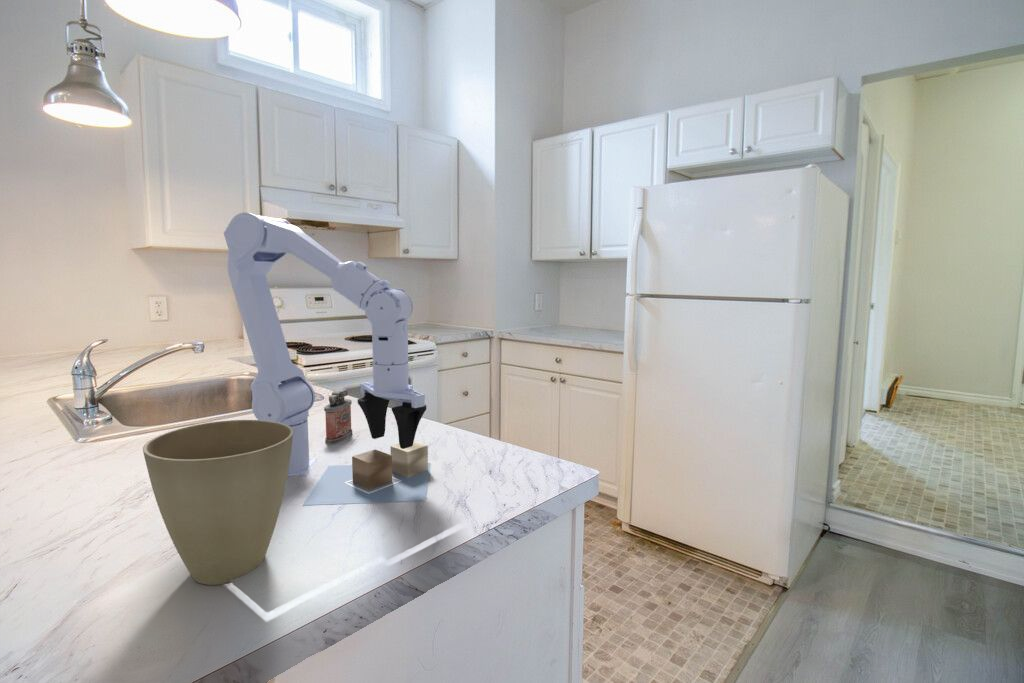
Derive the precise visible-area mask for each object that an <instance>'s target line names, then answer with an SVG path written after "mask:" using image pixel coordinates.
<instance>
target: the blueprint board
mask: <svg viewBox="0 0 1024 683" xmlns="http://www.w3.org/2000/svg"><path fill="white" fill-rule="evenodd" d="M431 465H432V464H431V462H428V470H427V471H425V472H422V473H419V474H417V475H414V476H411V477H409V478H407V477H405V476H402V475H399V474H397V473H394V472H392V482H390V483H387V484H385V485H382V486H379V487H377V488H374V489H371V490H368V489H366V488H363V487H361V486H359V485H357V484H354V483H353V473H352V464H350V465H349V464H348V465H347V464H345V465H343V464H342V465H341V464H340V465H328V466H327V467H326V469H325V470H324V472H323V473H322V475H321V476H320V478H319V479H318V481H317V482H316V484H315V485H314V487H313V489H312V490H311V492H310V493H309V495H308V496H307V498H306V499H305V501H304V502H303V503H302V507H303V506H325V505H326V506H330V505H331V506H332V505H355V504H356V505H357V504H358V505H359V504H381V503H382V504H384V503H388V504H389V503H408V502H409V503H412V502H413V503H415V502H427V494H428V487H429V480H430V479H429V478H430V474H431V472H430V471H431Z"/></svg>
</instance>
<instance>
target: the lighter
mask: <svg viewBox="0 0 1024 683" xmlns="http://www.w3.org/2000/svg"><path fill="white" fill-rule="evenodd" d="M348 395H349V394H348V390H347V389H346V388H345V389H340V390H339V391H333V392H331V395H328V402H329V404H327V405H325V406H324V407H323V410H324V413H325V438H324V439H325V441H324V442H325V444H327V445H333V444H338V443H341V442H343V441H345V440H346V439H348V438H350V437H351V436H352V435H353V429H352V410H351V409H352V407H351V405H352V403H353V402H352V399H348V398H345V397H347V396H348Z"/></svg>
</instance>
